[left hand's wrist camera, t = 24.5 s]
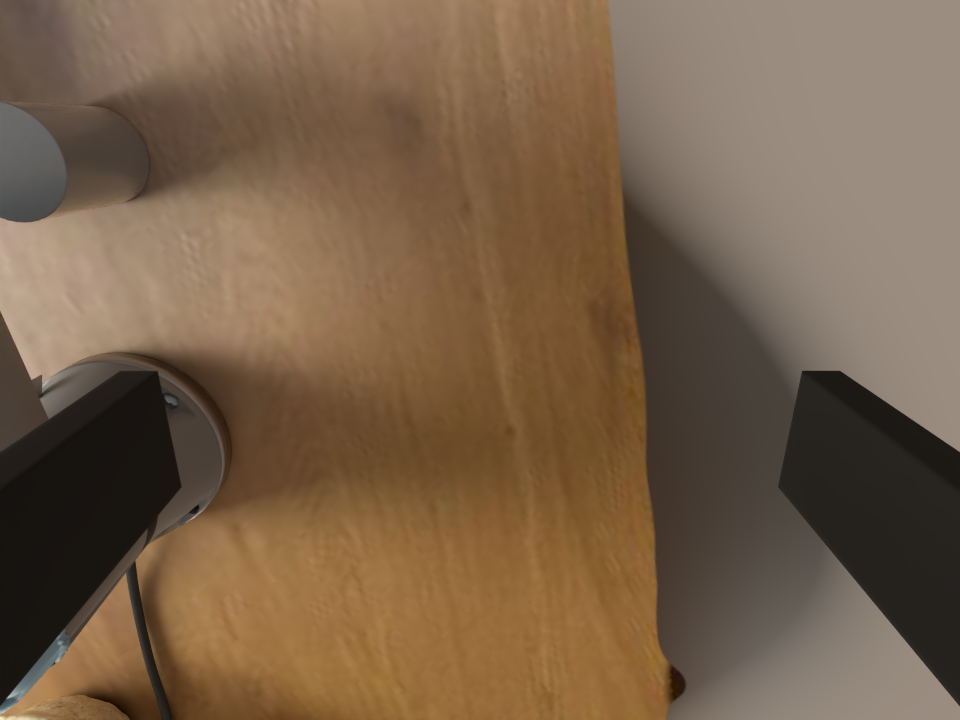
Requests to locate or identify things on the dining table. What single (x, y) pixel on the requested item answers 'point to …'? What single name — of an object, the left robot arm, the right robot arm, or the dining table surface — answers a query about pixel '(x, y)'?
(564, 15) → the dining table surface
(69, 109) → the grey cylinder
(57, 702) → the bowl
